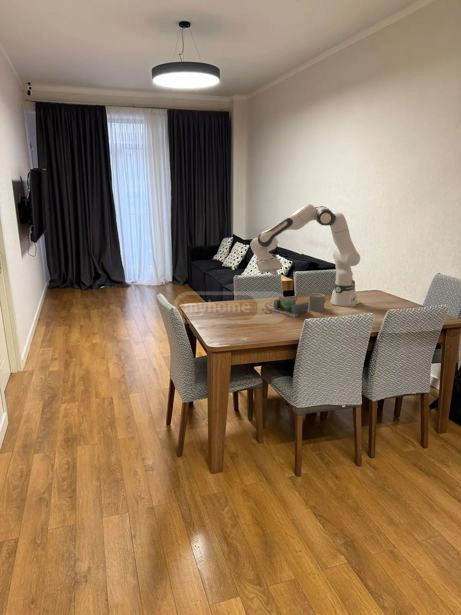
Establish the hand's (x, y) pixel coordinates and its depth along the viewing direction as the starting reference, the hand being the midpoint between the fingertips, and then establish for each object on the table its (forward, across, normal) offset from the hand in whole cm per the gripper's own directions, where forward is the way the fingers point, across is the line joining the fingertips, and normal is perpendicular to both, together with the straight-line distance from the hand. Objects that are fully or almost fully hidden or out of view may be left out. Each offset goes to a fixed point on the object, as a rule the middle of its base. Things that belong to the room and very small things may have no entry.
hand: (275, 275), depth 295 cm
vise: (+25, -3, +4) cm, 26 cm away
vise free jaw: (+20, -3, +7) cm, 22 cm away
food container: (+26, -5, +4) cm, 27 cm away
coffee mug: (+33, +16, -2) cm, 36 cm away
